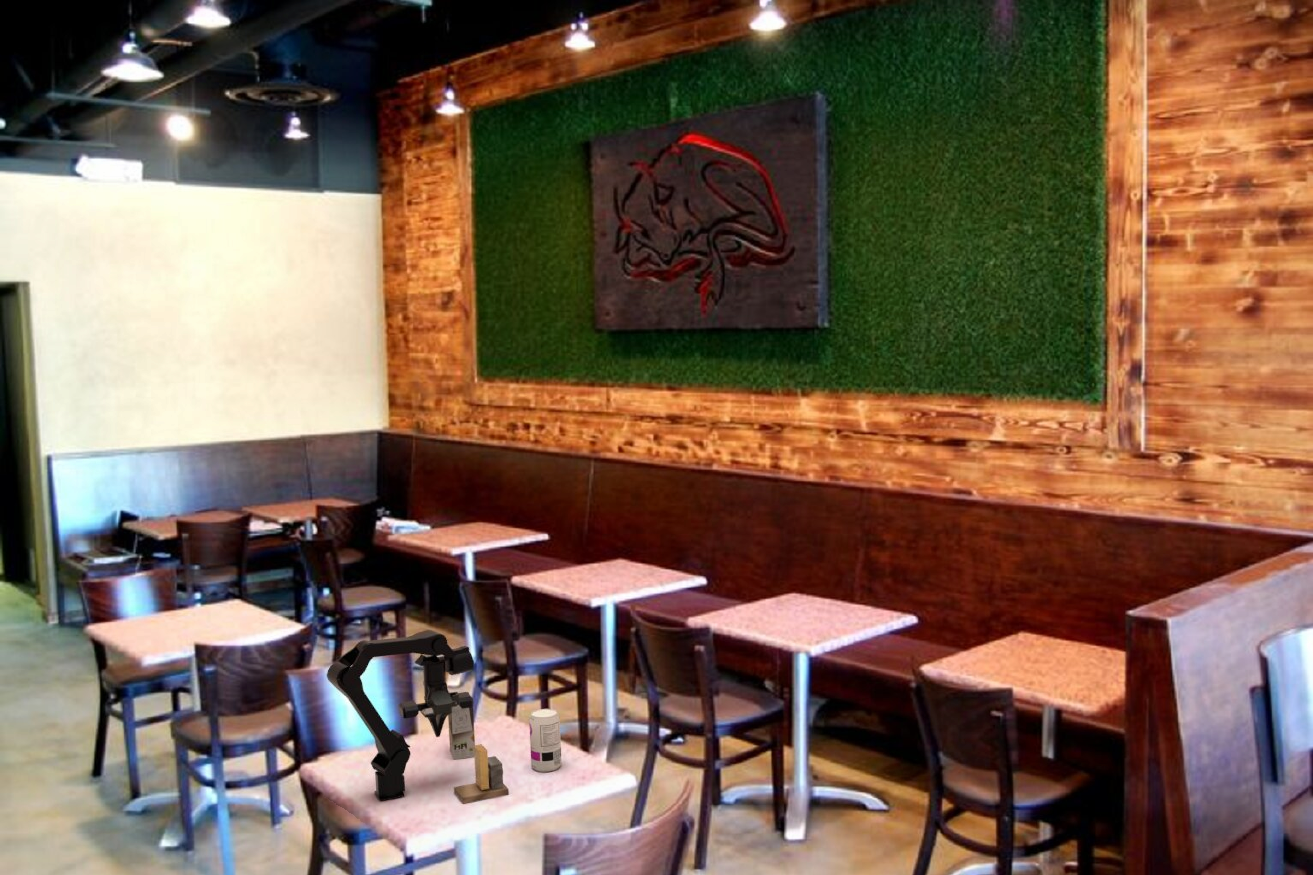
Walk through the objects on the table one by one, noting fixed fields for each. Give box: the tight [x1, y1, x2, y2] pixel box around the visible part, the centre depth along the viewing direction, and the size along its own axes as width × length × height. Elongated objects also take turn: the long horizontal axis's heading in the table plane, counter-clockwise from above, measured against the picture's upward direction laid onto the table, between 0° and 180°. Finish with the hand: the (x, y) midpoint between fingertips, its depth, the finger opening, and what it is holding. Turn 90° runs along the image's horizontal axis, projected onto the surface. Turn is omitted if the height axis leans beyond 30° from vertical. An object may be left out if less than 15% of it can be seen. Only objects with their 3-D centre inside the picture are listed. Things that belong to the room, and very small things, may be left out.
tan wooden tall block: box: [474, 744, 490, 790], centre depth 306 cm, size 6×5×10 cm
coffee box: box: [447, 691, 476, 760], centre depth 334 cm, size 9×6×16 cm
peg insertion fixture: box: [453, 755, 510, 804], centre depth 305 cm, size 12×8×8 cm, turn 115°
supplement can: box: [528, 708, 562, 773], centre depth 322 cm, size 8×8×15 cm
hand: (437, 736), depth 314 cm, fingers closed
